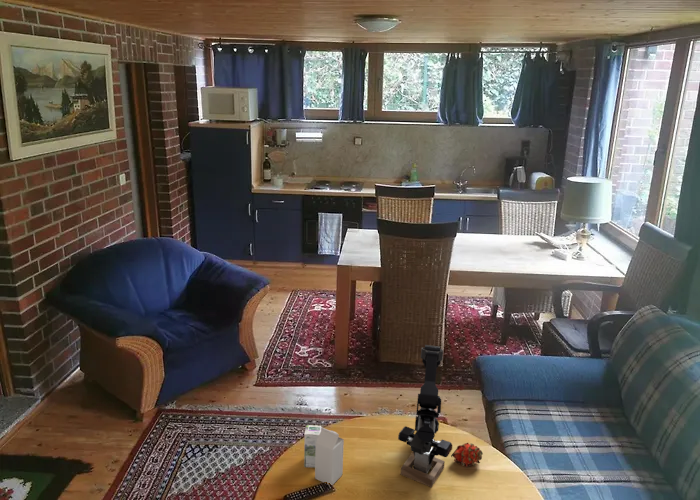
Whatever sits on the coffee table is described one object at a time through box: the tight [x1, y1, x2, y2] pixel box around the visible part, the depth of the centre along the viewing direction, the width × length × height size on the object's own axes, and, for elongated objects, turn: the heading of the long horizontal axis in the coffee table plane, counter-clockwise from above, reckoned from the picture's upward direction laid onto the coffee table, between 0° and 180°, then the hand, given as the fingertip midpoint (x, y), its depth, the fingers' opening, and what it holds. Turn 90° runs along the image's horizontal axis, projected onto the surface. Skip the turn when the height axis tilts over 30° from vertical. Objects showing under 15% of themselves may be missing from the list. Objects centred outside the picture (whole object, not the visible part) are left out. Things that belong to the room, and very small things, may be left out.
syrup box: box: [303, 424, 322, 469], centre depth 201 cm, size 6×6×14 cm
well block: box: [400, 451, 446, 488], centre depth 200 cm, size 12×12×3 cm
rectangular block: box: [413, 447, 433, 474], centre depth 199 cm, size 5×5×8 cm
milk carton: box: [314, 427, 345, 486], centre depth 193 cm, size 7×7×19 cm
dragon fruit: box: [450, 442, 484, 468], centre depth 205 cm, size 8×8×12 cm
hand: (423, 461), depth 199 cm, fingers closed on rectangular block, 5 cm apart
